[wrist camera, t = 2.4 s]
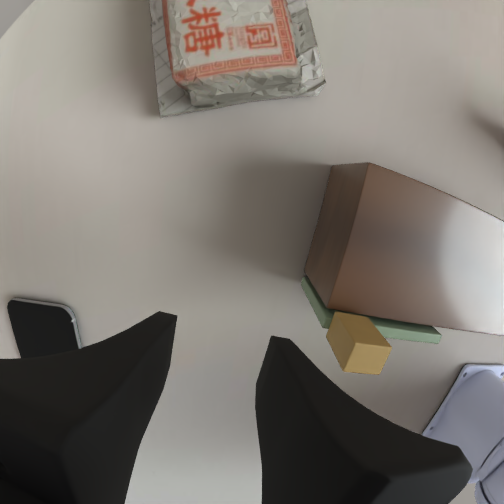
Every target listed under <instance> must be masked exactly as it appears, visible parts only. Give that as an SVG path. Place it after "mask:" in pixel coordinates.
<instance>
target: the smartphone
mask: <svg viewBox="0 0 504 504" xmlns="http://www.w3.org/2000/svg"><path fill="white" fill-rule="evenodd" d="M7 309H8V314H9V318H10V321H11V325H12V329H13V333H14V336H15V340H16V343H17V346H18V349H19V353H20V356H21V358H33V357H42V356H48V355H53V354H58V353H63V352H68V351H73V350H76V349H80V348H82V347H81V343H80V338H79V334H78V329H77V324H76V319H75V316H74V313H73V312H72V311H71V309H70V308H68V307H67V306H65V305H62V304H55V303H47V302H40V301H33V300H27V299H20V298H13V299H12V300H10V301H9V303H8V306H7Z"/></svg>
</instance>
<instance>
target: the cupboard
mask: <svg viewBox="0 0 504 504" xmlns="http://www.w3.org/2000/svg"><path fill="white" fill-rule="evenodd" d="M304 271H305V273H306V275H307V276H308V278H309V279H310V281H311V283H312V284H313V286H314V288H315V289H316V291H317V293H318V294H319V296H320V298H321V299H322V301H323V302H324V304H325V306H326V307H327V308H329V309H335V310H340V311H345V312H351V313H357V314H362V315H368V316H374V317H379V318H385V319H391V320H397V321H403V322H410V323H416V324H422V325H429V326H435V327H442V328H449V329H456V330H463V331H471V332H478V333H486V334H494V335H502V336H504V221H502V220H501V219H499V218H497V217H495V216H493V215H491V214H489V213H487V212H485V211H483V210H481V209H479V208H477V207H475V206H473V205H471V204H469V203H467V202H465V201H462V200H460V199H458V198H456V197H454V196H452V195H449V194H447V193H445V192H443V191H440V190H438V189H436V188H434V187H431V186H429V185H426V184H424V183H422V182H419V181H417V180H414V179H412V178H409V177H407V176H404V175H402V174H399V173H397V172H394V171H391V170H389V169H386V168H383V167H381V166H378V165H375V164H372V163H354V164H341V165H332V168H331V172H330V176H329V180H328V184H327V188H326V192H325V196H324V200H323V203H322V207H321V211H320V215H319V218H318V222H317V226H316V229H315V233H314V237H313V240H312V244H311V247H310V251H309V254H308V258H307V261H306V265H305V268H304Z"/></svg>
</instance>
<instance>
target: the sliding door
mask: <svg viewBox="0 0 504 504" xmlns="http://www.w3.org/2000/svg"><path fill="white" fill-rule="evenodd" d="M301 286H302V288H303V290H304V292H305V294H306V296H307V298H308V300H309V301H310V303H311V305H312V307H313V309H314V311H315V313H316V315H317V317H318V319H319V321H320V323H321V325H322V327H323V328H326V329H329V330H328V332H327V335H326V338H327V340H328V342H329V344H330V346H331V348H332V350H333V352H334V354H335V356H336V358H337V360H338V362H339V364H340V367H341V369H342V371H344V372H352V373H363V374H375V375H379V374H380V372H381V370H382V368H383V366H384V364H385V362H386V360H387V358H388V356H389V354H390V351H391V349H392V347H391V346H390V344H389V343H388V342H387V341H386V339H385V338H384V337H386V338H393V339H401V340H409V341H417V342H426V343H435V344H438V343H439V341H440V339H441V337H442V335H441V334H440V333H439V332H438V331H437V330H436V329H435V328H434V327H432V326H429V325H422V324H416V323H410V322H403V321H397V320H391V319H385V318H379V317H374V316H368V315H362V314H357V313H351V312H345V311H340V310H335V309H329V308H327V307H326V306H325V304H324V302H323V301H322V299H321V298H320V296H319V294H318V293H317V291H316V289H315V288H314V286H313V284H312V283H311V281H310V279H309V278H308V277H303V279H302V282H301Z"/></svg>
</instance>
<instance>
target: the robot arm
mask: <svg viewBox="0 0 504 504" xmlns="http://www.w3.org/2000/svg"><path fill="white" fill-rule="evenodd" d="M176 321H177V315H173V314H169V313H165V312H161V311H159V312H157V313H155V314H153V315H152V316H150V317H148V318H146V319H145V320H143V321H141V322H140V323H138V324H136V325H134V326H132V327H131V328H129V329H127V330H125V331H123V332H121V333H118V334H116V335H114V336H112V337H110V338H108V339H105V340H103V341H101V342H98V343H95V344H93V345H90V346H86V347H83V348H80V349H76V350H73V351H68V352H63V353H58V354H53V355H48V356H42V357H33V358H20V359H0V504H124V503H125V499H126V495H127V490H128V486H129V482H130V478H131V474H132V470H133V467H134V463H135V459H136V456H137V452H138V449H139V446H140V443H141V440H142V438H143V435H144V433H145V431H146V428H147V426H148V424H149V421H150V419H151V417H152V414H153V412H154V410H155V407H156V405H157V403H158V400H159V398H160V396H161V393H162V391H163V388H164V385H165V382H166V378H167V375H168V371H169V367H170V362H171V355H172V348H173V341H174V334H175V328H176ZM503 375H504V365H480V364H467V365H465V366H464V367H463V369H462V370H461V372H460V374H459V376H458V378H457V380H456V381H455V383H454V385H453V387H452V388H451V390H450V392H449V393H448V395H447V397H446V398H445V400H444V402H443V403H442V405H441V406H440V408H439V410H438V411H437V413H436V414H435V416H434V417H433V419H432V420H431V422H430V423H429V425H428V426H427V428H426V429H425V430H424V432H423V433H422V435H420V434H417V433H415V432H412V431H410V430H407V429H405V428H403V427H400V426H398V425H396V424H394V423H392V422H390V421H388V420H387V419H385V418H383V417H381V416H379V415H377V414H376V413H374V412H372V411H371V410H369V409H367V408H366V407H364V406H363V405H362V404H360V403H359V402H357V401H356V400H354V399H353V398H352V397H350V396H349V395H348V394H346V393H345V392H344V391H343V390H341V389H340V388H339V387H338V386H337V385H336V384H334V383H333V382H332V381H331V380H330V379H329V378H328V377H327V376H326V375H324V374H323V373H322V372H321V371H320V370H319V369H318V368H317V367H316V366H315V365H314V364H313V363H312V362H311V360H310V359H309V358H308V357H307V356H306V355H305V354H304V353H303V352H302V351H301V350H300V349H299V348H298V347H297V346H296V345H295V344H294V343H293V342H292V341H291V340H290V339H287V338H282V337H276V336H271V338H270V342H269V345H268V348H267V351H266V354H265V358H264V361H263V364H262V367H261V370H260V373H259V376H258V379H257V382H256V398H255V410H256V419H257V428H258V437H259V445H260V453H261V462H262V504H448V503H450V502H451V500H453V499H454V498H455V497H456V496H457V495H458V494H459V493H460V492H461V491H462V489H463V488H464V487H465V486H466V484H467V483H476V486H475V499H476V502H477V504H504V381H503V380H502V379H501V378H502V376H503ZM428 437H429V438H428Z"/></svg>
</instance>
